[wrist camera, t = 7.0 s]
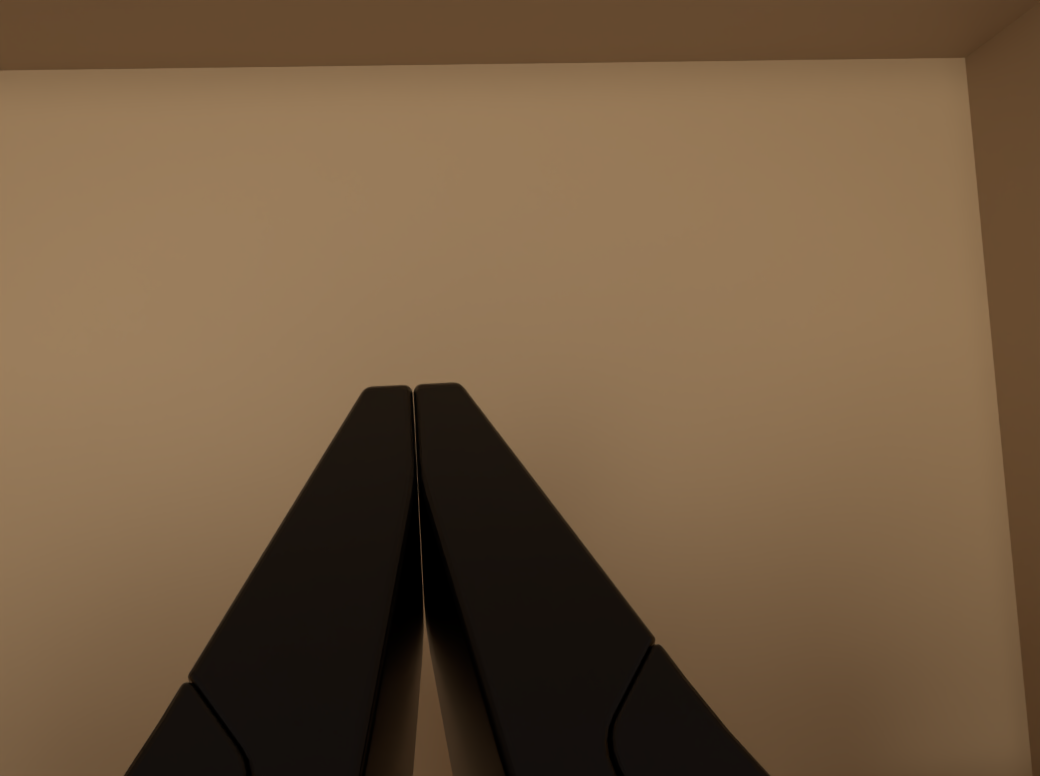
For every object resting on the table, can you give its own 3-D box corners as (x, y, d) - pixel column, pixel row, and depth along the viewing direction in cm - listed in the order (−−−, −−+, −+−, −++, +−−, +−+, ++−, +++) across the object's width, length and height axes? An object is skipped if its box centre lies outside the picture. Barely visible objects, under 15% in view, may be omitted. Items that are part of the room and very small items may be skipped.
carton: (1048, 830, 19) (1328, 989, 13) (-272, 970, 17) (-650, 1247, 11) (973, 41, 21) (1201, -133, 15) (-269, 55, 18) (-610, -150, 12)
